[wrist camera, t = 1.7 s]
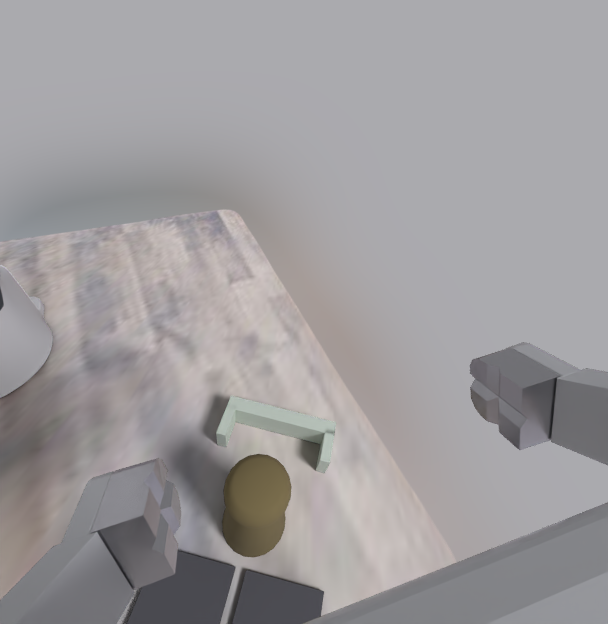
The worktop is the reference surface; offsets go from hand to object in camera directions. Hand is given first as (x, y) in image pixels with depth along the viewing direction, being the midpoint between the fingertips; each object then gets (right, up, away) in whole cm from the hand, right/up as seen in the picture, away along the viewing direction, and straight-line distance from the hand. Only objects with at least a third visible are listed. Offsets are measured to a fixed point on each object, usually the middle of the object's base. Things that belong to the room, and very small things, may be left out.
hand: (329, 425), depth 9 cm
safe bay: (-4, -11, +31) cm, 33 cm away
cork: (-5, -17, +26) cm, 31 cm away
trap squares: (-7, -22, +20) cm, 31 cm away
